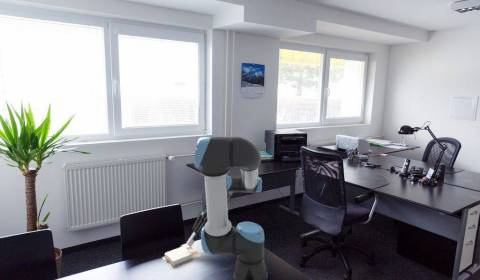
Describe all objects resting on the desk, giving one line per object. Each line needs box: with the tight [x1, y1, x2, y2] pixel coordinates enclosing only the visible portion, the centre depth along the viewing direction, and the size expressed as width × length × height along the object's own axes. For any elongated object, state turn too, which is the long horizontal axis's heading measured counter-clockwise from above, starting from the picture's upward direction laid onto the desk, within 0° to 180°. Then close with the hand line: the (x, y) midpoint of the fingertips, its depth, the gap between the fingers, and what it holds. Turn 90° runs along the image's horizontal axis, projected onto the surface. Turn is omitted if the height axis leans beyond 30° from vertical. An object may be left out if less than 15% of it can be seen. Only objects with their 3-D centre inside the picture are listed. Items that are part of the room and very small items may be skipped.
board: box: [161, 246, 203, 269], centre depth 145 cm, size 11×16×1 cm
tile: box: [164, 245, 192, 266], centre depth 144 cm, size 9×2×10 cm
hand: (188, 245), depth 147 cm, fingers closed
